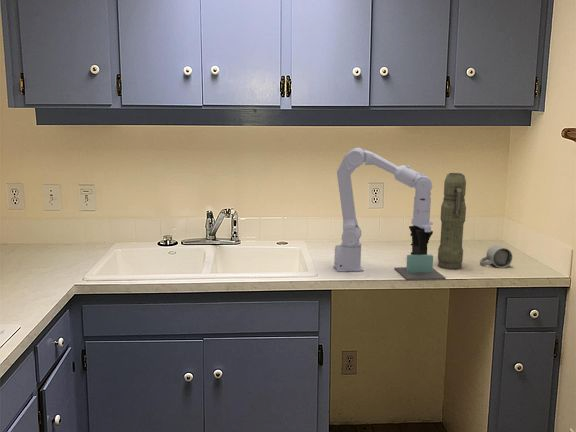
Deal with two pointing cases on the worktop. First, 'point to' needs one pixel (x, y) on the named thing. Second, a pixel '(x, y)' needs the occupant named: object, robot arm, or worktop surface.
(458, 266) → the thermos
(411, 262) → the card box
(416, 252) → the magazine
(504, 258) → the ceramic mug
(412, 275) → the mat
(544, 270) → the worktop surface
